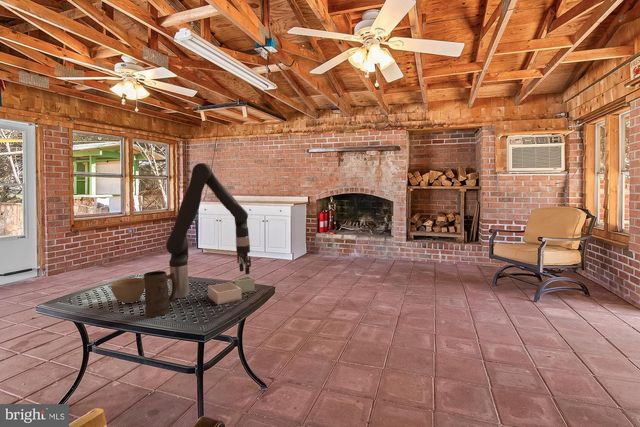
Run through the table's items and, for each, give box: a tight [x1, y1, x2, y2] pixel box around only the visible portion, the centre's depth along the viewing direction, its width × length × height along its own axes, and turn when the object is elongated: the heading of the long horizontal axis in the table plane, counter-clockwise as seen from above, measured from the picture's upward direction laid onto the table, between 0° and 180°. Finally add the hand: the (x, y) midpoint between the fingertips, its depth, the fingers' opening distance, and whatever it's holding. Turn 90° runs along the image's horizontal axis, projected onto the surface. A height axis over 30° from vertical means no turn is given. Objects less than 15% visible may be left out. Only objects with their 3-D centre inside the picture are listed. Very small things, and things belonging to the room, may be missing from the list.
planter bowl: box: [110, 277, 145, 303], centre depth 185 cm, size 16×16×11 cm
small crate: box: [234, 275, 256, 294], centre depth 200 cm, size 9×6×7 cm
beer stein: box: [143, 270, 177, 318], centre depth 169 cm, size 15×11×20 cm
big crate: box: [207, 281, 243, 306], centre depth 187 cm, size 13×16×6 cm
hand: (244, 272), depth 199 cm, fingers open, 8 cm apart
